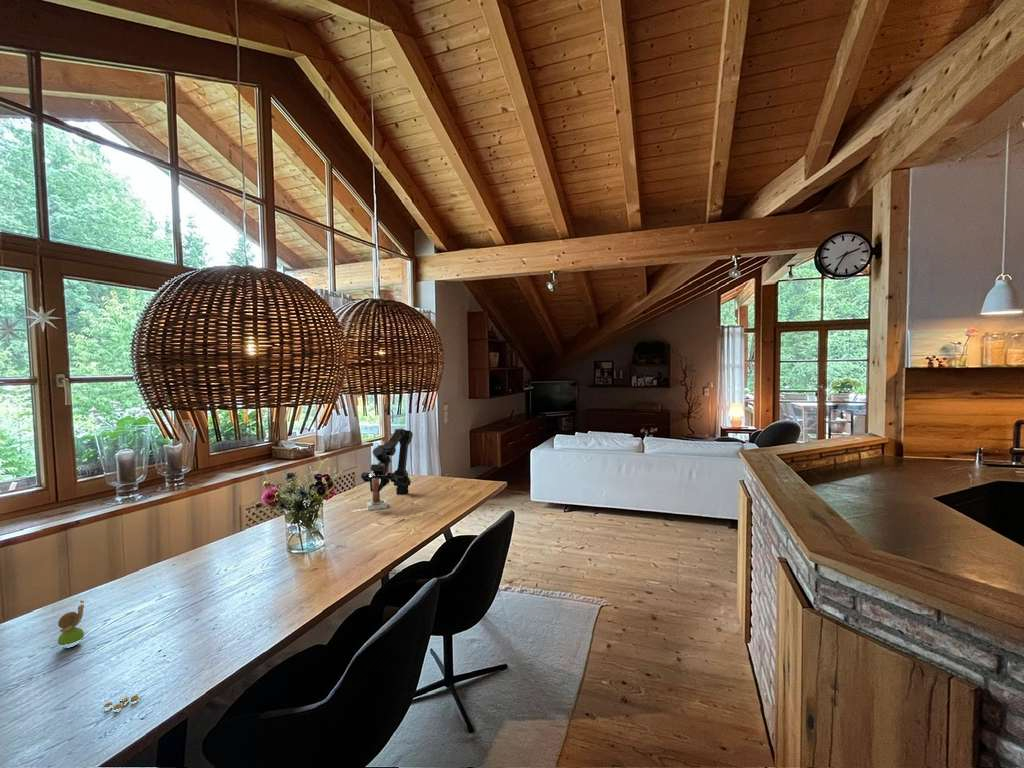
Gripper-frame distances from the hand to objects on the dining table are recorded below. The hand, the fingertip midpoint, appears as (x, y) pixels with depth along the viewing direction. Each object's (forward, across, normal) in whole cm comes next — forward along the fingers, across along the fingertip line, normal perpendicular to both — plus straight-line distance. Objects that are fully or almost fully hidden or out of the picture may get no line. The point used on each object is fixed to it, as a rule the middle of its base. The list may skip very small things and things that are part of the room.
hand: (374, 491), depth 233 cm
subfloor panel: (+2, -9, +17) cm, 19 cm away
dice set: (+100, -2, -82) cm, 130 cm away
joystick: (+4, 0, +6) cm, 7 cm away
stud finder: (+2, -4, +15) cm, 15 cm away
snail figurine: (+87, -40, -69) cm, 118 cm away
